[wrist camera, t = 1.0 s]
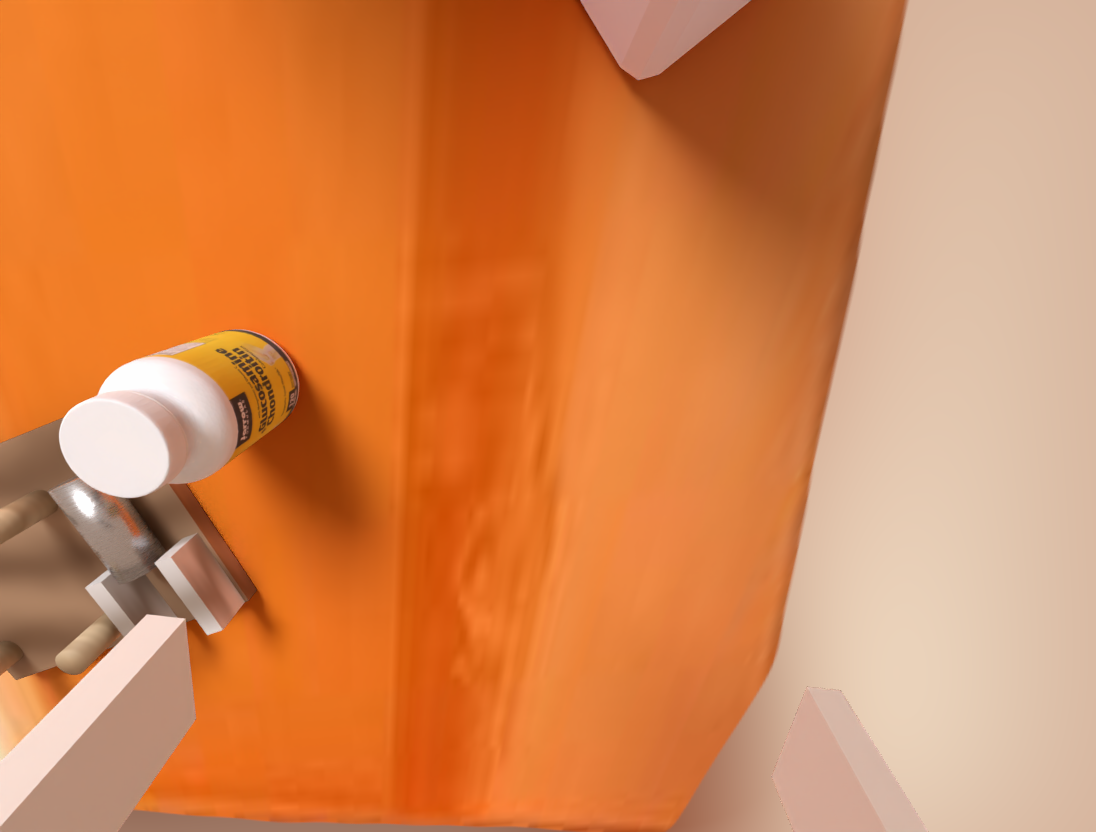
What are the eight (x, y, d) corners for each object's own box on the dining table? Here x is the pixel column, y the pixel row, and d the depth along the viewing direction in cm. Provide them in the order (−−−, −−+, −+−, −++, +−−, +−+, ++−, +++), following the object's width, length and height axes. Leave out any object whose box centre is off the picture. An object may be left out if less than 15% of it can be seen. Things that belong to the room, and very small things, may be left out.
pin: (75, 474, 35) (34, 497, 32) (115, 459, 35) (77, 481, 32) (140, 561, 37) (107, 590, 35) (178, 548, 37) (147, 575, 34)
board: (-125, 493, 37) (-250, 545, 31) (124, 392, 35) (39, 428, 29) (30, 667, 42) (-53, 739, 36) (257, 589, 40) (207, 653, 34)
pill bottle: (308, 428, 36) (203, 521, 25) (207, 424, 36) (57, 515, 25) (297, 328, 34) (177, 382, 23) (190, 323, 33) (17, 375, 22)
